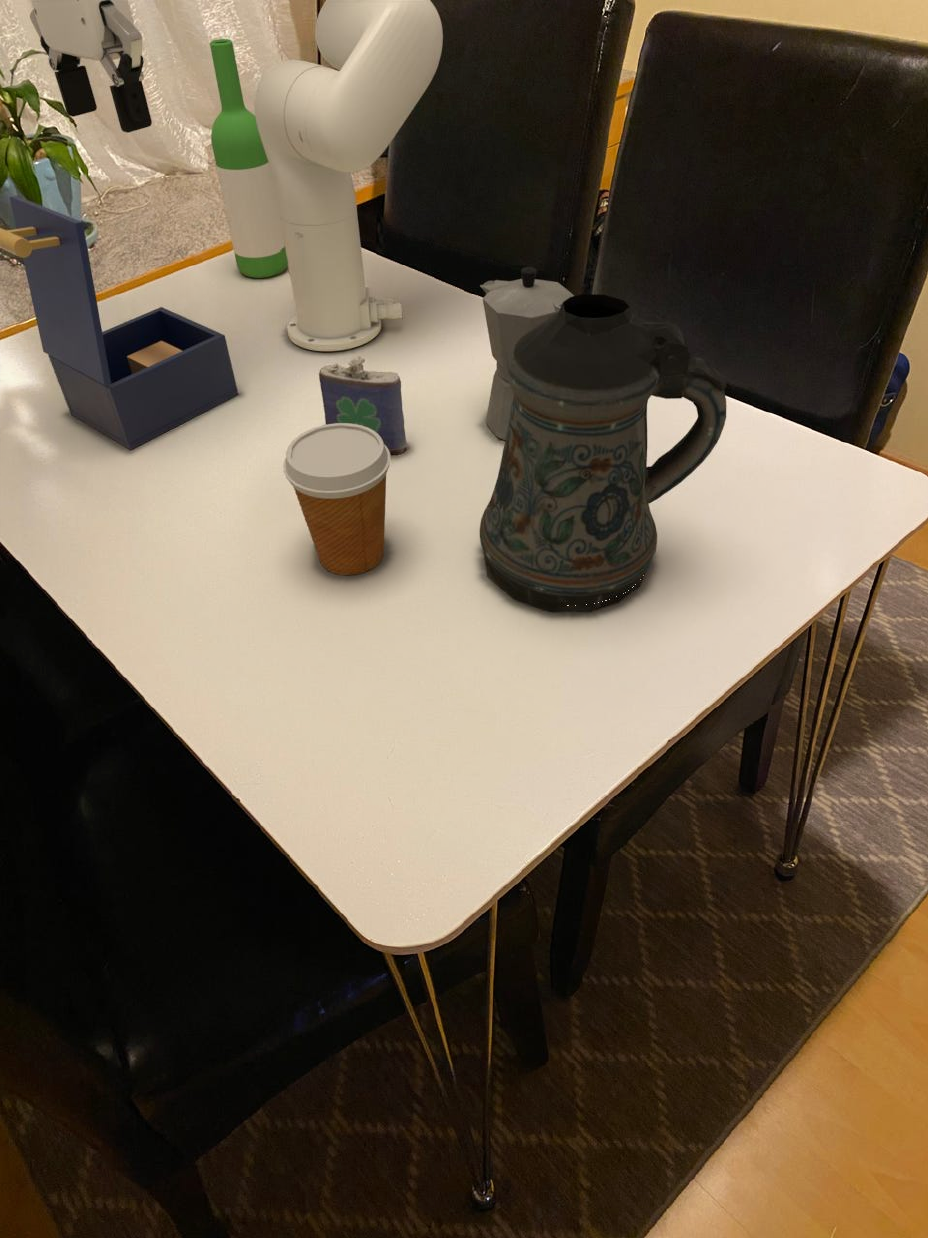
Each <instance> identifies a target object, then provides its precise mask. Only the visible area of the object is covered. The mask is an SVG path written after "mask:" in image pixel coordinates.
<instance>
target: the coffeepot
mask: <svg viewBox="0 0 928 1238" xmlns="http://www.w3.org/2000/svg"><path fill="white" fill-rule="evenodd" d="M537 271H538V269H536V268H535V267H530V266H527V267H523V268H522V269H521V270H520V275H521V278H520V279H515V280H501V279H500V280H499V279H495V280H488V281H485V282H484V283H483V284H480V285H479V287H480V288H481V289H482V290H483V292H484V294H485V296H483V298H482V303H483V310H484V315H485V316H484V317H485V321H486V328H487V333H488V339H489V344H490V351H491V356H492V357H493V359H494V361H496V370H495V371H494V374H493V376H492V383H491V389H490V394H489V401H488V406H487V413H486V418H485V424H486V425H487V427H488V428H489V430H490V431H491V433H492V434H493V435H494V436H496V437H497V438H498V439H500V440H502V441H505V439H506V433H507V427H508V421H509V416H510V410H511V404H512V399H513V393H514V392H513V390H512V388H511V386H510V381H509V376H508V369H507V359H508V355H509V352H510V350H511V349H512V347H513V346H514V345H515V344H516V343H517V341H518V340H519V339H520V338H521V337H522V336H523V335H525V334H526V333H528V332H529V331H531V330H532V329H534V328H535V327H536V326H538V325H540V324H541V323H543V322H545V321H546V320H548V319H549V318H551V317H552V316H553V315H555V314H556V313H558V312H559V310H560V308H561V305H562V303H563V302H564V301H565V300H567V299H568V298H570V297H573V296H575V295H574V294H573V293H572V292H570V291H569V290H568V289H567V288H565V286H563V285H562V284H560V283H559V282H558V281H552V280H544V279H536V276H537Z"/></svg>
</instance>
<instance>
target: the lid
mask: <svg viewBox="0 0 928 1238" xmlns="http://www.w3.org/2000/svg"><path fill="white" fill-rule="evenodd" d="M9 202H10V206H11V210H12V215H13V220H14V225H15V229H4V228H2V227H0V249H2V250H4V251H6V252H8V253H10V254H13V255H14V256H17V257H19V258H22V262H23V265H24V270H25V275H26V279H27V284H28V289H29V293H30V296H31V301H32V306H33V311H34V316H35V319H36V325H37V329H38V333H39V338H40V343H41V347H42V352H43V353H45V354H46V355H47V356H48V355H50V356H52V357H54V358H56V359H57V360H59V361H61V362H63V363H65V364H66V365H68V366H70V367H72V368H74V369H76V370H77V371H79V372H81V373H83V374H85V375H87V376H88V377H90V378H92V379H94V380H96V381H97V382H99V383H101V384H103V385H109V384H111V379H110V374H109V368H108V362H107V357H106V351H105V345H104V340H103V334H102V332H103V328H102V323H101V318H100V312H99V306H98V301H97V295H96V290H95V283H94V277H93V271H92V266H91V260H90V255H89V250H88V249H89V248H88V244H87V238H86V232H85V227H84V222H83V221H81V220H78V219H76V218H73V217H71V216H68V215H66V214H63V213H61V212H58V211H56V210H53V209H51V208H48V207H46V206H43V205H41V204H39V203H37V202H33V201H30V200H28V199H25V198H23V197H21V196H18V195H11V196H9Z"/></svg>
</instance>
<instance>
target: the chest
mask: <svg viewBox="0 0 928 1238" xmlns="http://www.w3.org/2000/svg"><path fill="white" fill-rule="evenodd" d="M102 334H103V340H104V345H105V351H106V357H107V362H108V368H109V374H110V379H111V384H109V385H103V384H101V383H99V382H97V381H96V380H94V379H92V378H90V377H88V376H87V375H85V374H83V373H81V372H79V371H77V370H76V369H74V368H72V367H70V366H68V365H66V364H65V363H63V362H61V361H59V360H57V359H56V358H54V357H52V356H50V355H48V354H47V356H48V358H49V362H50V365H51V367H52V369H53V372H54V374H55V377H56V379H57V382H58V385H59V387H60V390H61V393H62V395H63V398H64V401H65V403H66V405H67V408H68V411H69V413H70V415H71V416H73V417H75V418H76V419H78V420H79V421H81V422H82V423H84V424H86V425H88V427H91V428H92V429H94V430H96V431H98V432H99V433H101V434H102V435H104V436H106V437H108V438H109V439H111V440H113V441H114V442H116V443H118V444H119V445H121V446H123V447H125V449H128V450H130V451H132V450H134V449H136V448H137V447H140V446H142V445H144V444H145V443H147V442H149V441H151V440H153V439H155V438H157V437H159V436H161V435H163V434H165V433H167V432H169V431H171V430H173V429H174V428H176V427H179V426H180V425H182V424H184V423H186V422H188V421H190V420H193V419H194V418H196V417H198V416H200V415H202V414H204V413H206V412H208V411H210V410H212V409H213V408H215V407H217V406H219V405H222V404H223V403H225V402H227V401H229V400H231V399H233V398H236V397H237V396H238V395H239V390H238V385H237V382H236V378H235V373H234V369H233V365H232V360H231V356H230V352H229V347H228V343H227V339H226V335H225V334H223V333H221V332H219V331H216V330H214V329H213V328H210V327H208V326H205V325H203V324H201V323H198V322H196V321H194V320H193V319H190V318H187V317H185V316H183V315H180V314H178V313H176V312H174V311H171V310H170V309H168V308H165V307H163V306H160V307H158V308H154V309H153V310H151V311H148V312H146V313H144V314H140V315H138V316H136V317H134V318H131V319H129V320H127V321H125V322H122V323H120V324H118V325H115V326H113V327H110V328H108V329H106V330H102ZM160 341H163V342H165V343H167V344H170V345H172V346H174V347H176V348H178V349H180V350H182V352H179V353H177V354H175V355H173V356H171V357H169V358H167V359H164V360H162V361H160V362H158V363H156V364H154V365H151V366H149V367H147V368H145V369H143V370H141V371H138V372H136V373H134V374H132V372H131V368H130V365H129V362H128V359H127V356H129V355H131V354H133V353H135V352H138V351H140V350H142V349H144V348H147V347H149V346H151V345H153V344H155V343H158V342H160Z"/></svg>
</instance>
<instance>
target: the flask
mask: <svg viewBox="0 0 928 1238" xmlns="http://www.w3.org/2000/svg"><path fill="white" fill-rule="evenodd" d="M365 362H366V359H365V357H362V356H360V355H359V356H357V358H352V359H351V358H350V359H349V361H348V362H347V364H348V367H345V366H342V365H339V364H338V363H333V364H329V365H325V366H322V367H321V368H320V369H319V371H318V378H319V384H320V392H321V397H322V404H323V412H324V419H325V425H327V424H335V423H350V424H357V425H361V426H364V427H368V428H370V429H372V430H374V431H375V432H376V433H378V434H379V436H380V437H381V438H382V440H383V443H384V444H385V445H386V447H387V448H388V450H389V452H390V456H392V455H401V454H402V453H404V452H405V451H406V449H407V436H406V429H405V417H404V411H403V397H402V381H401V377H400V375H399V374H398V373H397V372H393V371H373V370H372V371H369V370H365V369H364V363H365Z"/></svg>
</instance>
